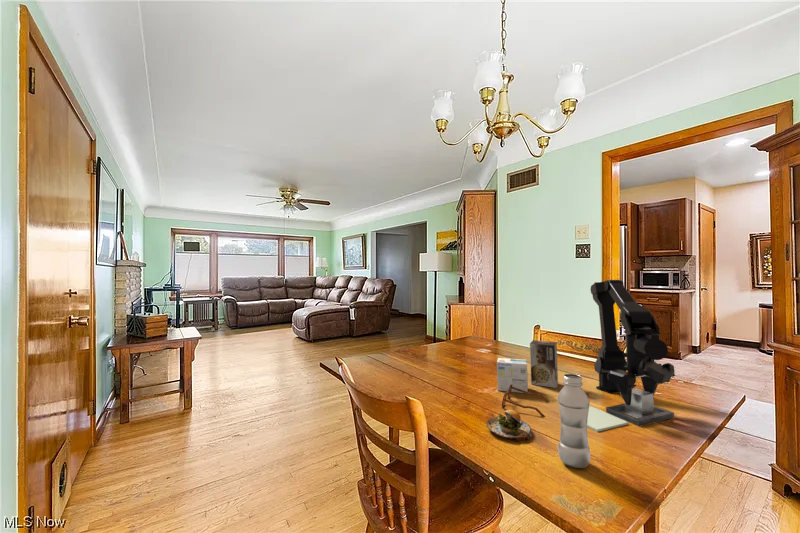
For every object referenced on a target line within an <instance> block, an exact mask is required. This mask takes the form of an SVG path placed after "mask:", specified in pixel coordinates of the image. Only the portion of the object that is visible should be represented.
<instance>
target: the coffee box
mask: <svg viewBox="0 0 800 533" xmlns="http://www.w3.org/2000/svg"><path fill="white" fill-rule="evenodd" d="M557 346H558V342H556V341H546V340H534V339H532V341H531V342H530V343H529V350H530V351H529V352H530V353H529V356H530V357H529V358H530V359H529V360H530V384H531V385H532V384H533V386H540V387H547V388H554V389H557V388H558V385H559V372H558V347H557Z"/></svg>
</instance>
